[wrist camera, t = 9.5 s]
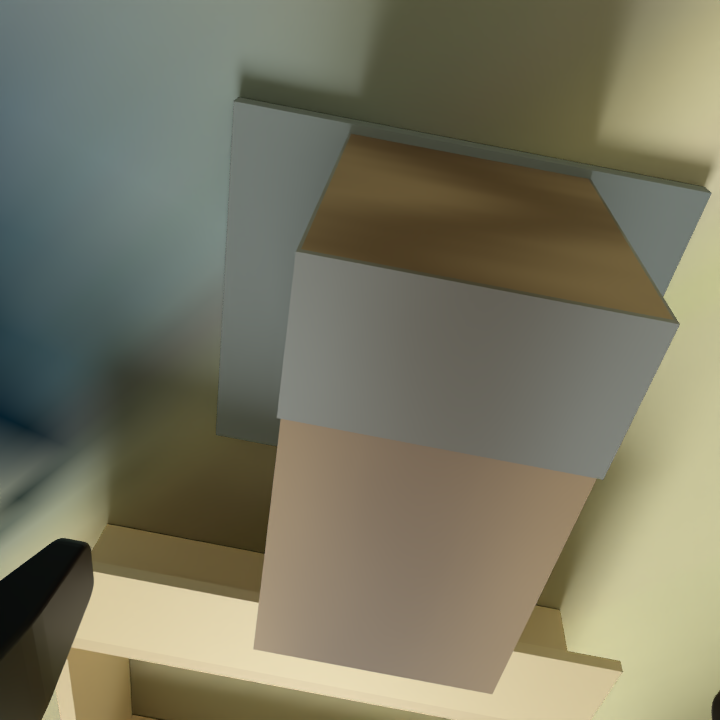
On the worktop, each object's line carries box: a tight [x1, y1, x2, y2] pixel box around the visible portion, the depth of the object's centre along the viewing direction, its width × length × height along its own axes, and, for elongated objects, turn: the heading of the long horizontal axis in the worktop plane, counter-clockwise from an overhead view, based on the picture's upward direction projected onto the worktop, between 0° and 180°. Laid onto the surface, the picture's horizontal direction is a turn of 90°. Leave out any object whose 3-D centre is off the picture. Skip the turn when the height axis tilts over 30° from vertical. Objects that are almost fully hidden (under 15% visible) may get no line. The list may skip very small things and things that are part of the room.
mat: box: [216, 97, 711, 446], centre depth 16 cm, size 10×9×1 cm
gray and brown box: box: [253, 133, 680, 694], centre depth 14 cm, size 5×9×6 cm, turn 171°
